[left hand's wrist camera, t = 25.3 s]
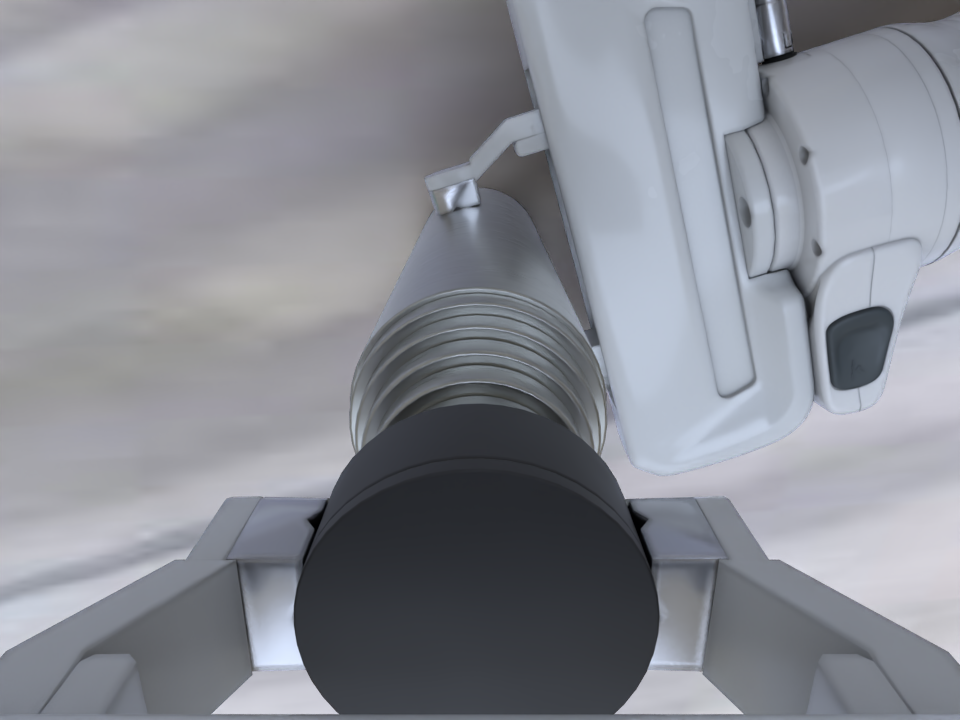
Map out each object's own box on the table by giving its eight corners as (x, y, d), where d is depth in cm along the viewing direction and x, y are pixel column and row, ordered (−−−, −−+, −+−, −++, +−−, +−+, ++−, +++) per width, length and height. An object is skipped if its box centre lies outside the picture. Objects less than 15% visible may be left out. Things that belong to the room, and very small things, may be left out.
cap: (685, 473, 10) (730, 553, 8) (546, 694, 11) (559, 803, 9) (392, 351, 9) (370, 410, 7) (284, 602, 11) (245, 701, 9)
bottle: (538, 186, 31) (702, 400, 8) (537, 302, 33) (667, 743, 10) (418, 188, 31) (243, 407, 8) (423, 304, 33) (294, 748, 10)
